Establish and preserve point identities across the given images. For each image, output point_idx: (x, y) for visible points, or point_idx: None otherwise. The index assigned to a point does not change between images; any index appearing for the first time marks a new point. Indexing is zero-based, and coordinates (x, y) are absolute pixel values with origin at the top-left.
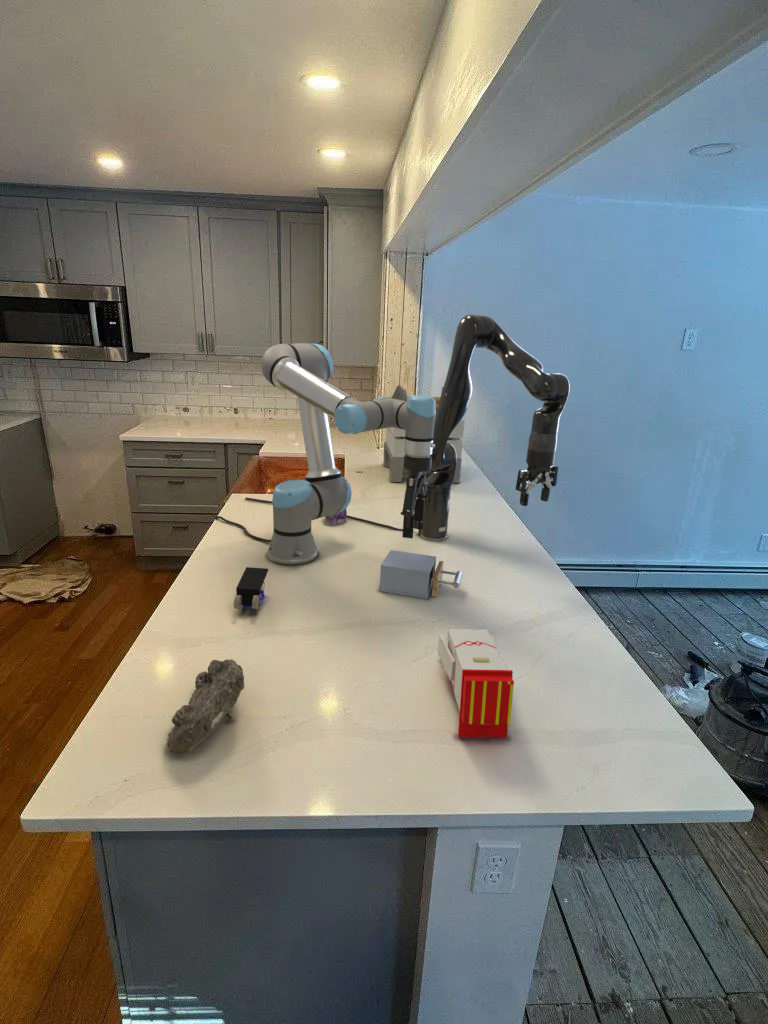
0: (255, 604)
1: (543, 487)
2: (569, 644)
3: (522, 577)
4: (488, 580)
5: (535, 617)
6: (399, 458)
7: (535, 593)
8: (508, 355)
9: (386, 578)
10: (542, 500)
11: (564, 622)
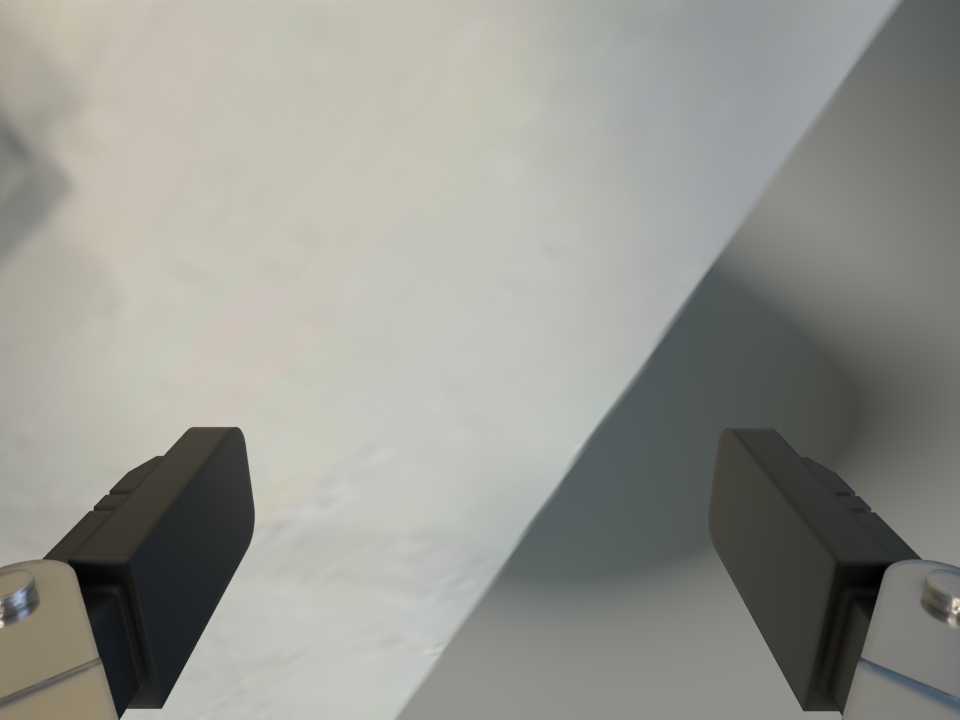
0: None
1: (891, 560)
2: (229, 691)
3: (494, 218)
4: (278, 142)
5: None
6: None
7: (412, 383)
8: None
9: None
10: (717, 462)
11: (330, 601)
